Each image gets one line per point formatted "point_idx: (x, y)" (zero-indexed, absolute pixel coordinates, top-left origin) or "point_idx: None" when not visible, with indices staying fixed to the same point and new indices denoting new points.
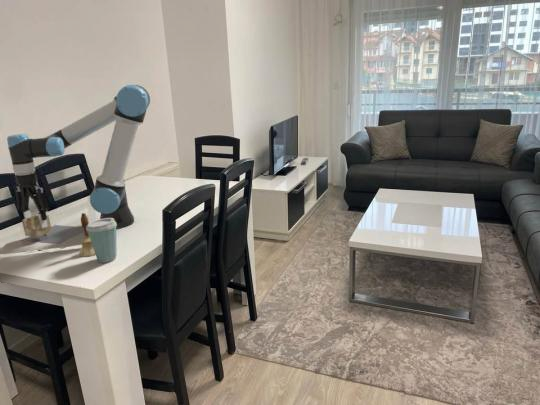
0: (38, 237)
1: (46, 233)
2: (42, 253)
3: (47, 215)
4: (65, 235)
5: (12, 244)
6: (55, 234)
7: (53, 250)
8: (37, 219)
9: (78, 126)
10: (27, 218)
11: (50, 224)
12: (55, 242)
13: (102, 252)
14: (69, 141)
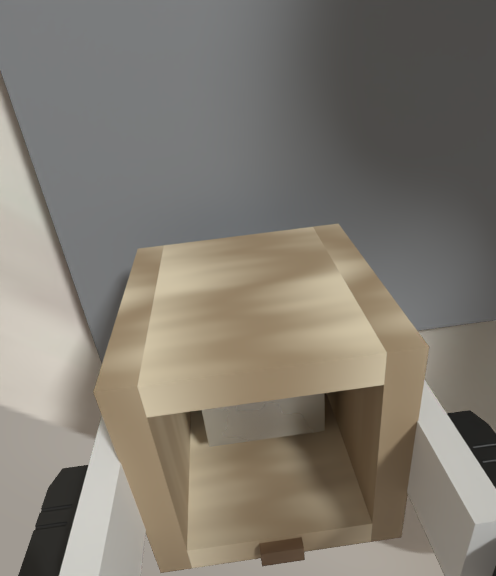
0: None
1: (170, 166)
2: (444, 396)
3: (406, 354)
4: (455, 143)
5: (51, 379)
6: (312, 157)
7: (491, 346)
8: (385, 502)
9: None
10: (179, 528)
11: (366, 262)
12: (471, 303)
13: None
14: None
